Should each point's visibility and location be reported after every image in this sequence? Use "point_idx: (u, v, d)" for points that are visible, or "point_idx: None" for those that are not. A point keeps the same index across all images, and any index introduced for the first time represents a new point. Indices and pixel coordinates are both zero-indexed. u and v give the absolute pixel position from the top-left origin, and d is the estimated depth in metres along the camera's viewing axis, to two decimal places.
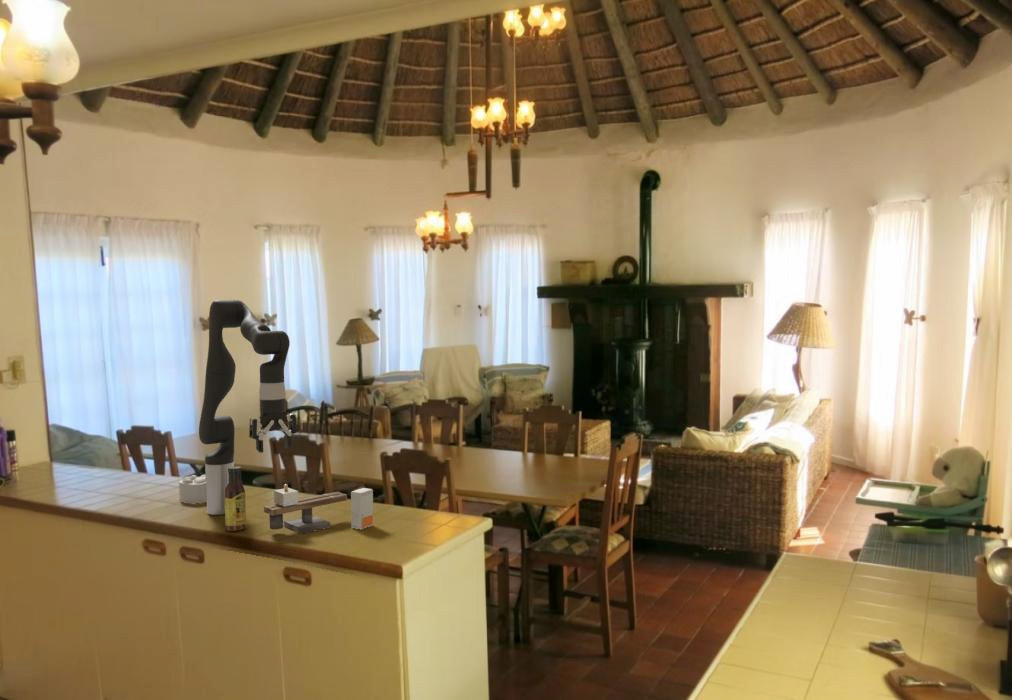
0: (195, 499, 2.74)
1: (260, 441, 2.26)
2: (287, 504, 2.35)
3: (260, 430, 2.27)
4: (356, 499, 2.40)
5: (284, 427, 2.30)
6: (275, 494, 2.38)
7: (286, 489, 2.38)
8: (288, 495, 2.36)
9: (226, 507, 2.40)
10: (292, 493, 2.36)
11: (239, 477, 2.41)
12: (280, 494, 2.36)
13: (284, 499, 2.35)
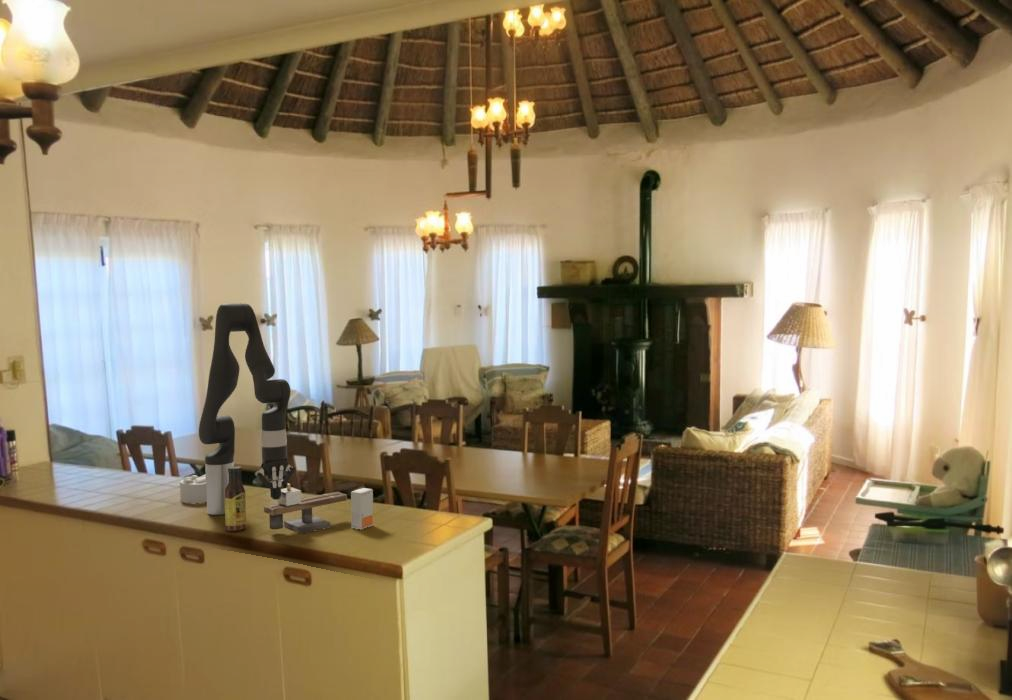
0: (196, 499, 2.74)
1: (274, 489, 2.35)
2: (290, 503, 2.36)
3: (269, 479, 2.35)
4: (356, 499, 2.40)
5: (280, 475, 2.35)
6: None
7: (289, 488, 2.39)
8: (291, 495, 2.36)
9: (226, 507, 2.40)
10: (295, 492, 2.37)
11: (239, 477, 2.41)
12: (283, 493, 2.36)
13: (287, 498, 2.35)
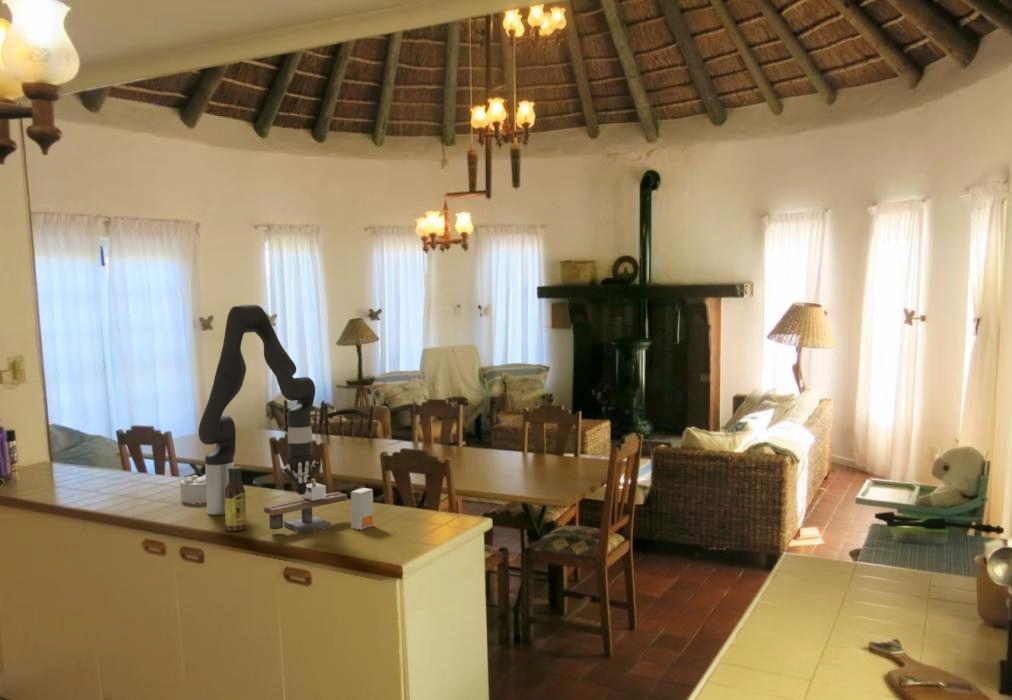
0: (196, 499, 2.74)
1: (300, 484, 2.41)
2: (315, 498, 2.42)
3: (295, 474, 2.41)
4: (356, 499, 2.40)
5: (306, 471, 2.41)
6: None
7: (314, 484, 2.44)
8: (316, 490, 2.42)
9: (226, 507, 2.40)
10: (320, 488, 2.43)
11: (239, 477, 2.41)
12: (308, 489, 2.42)
13: (312, 493, 2.41)
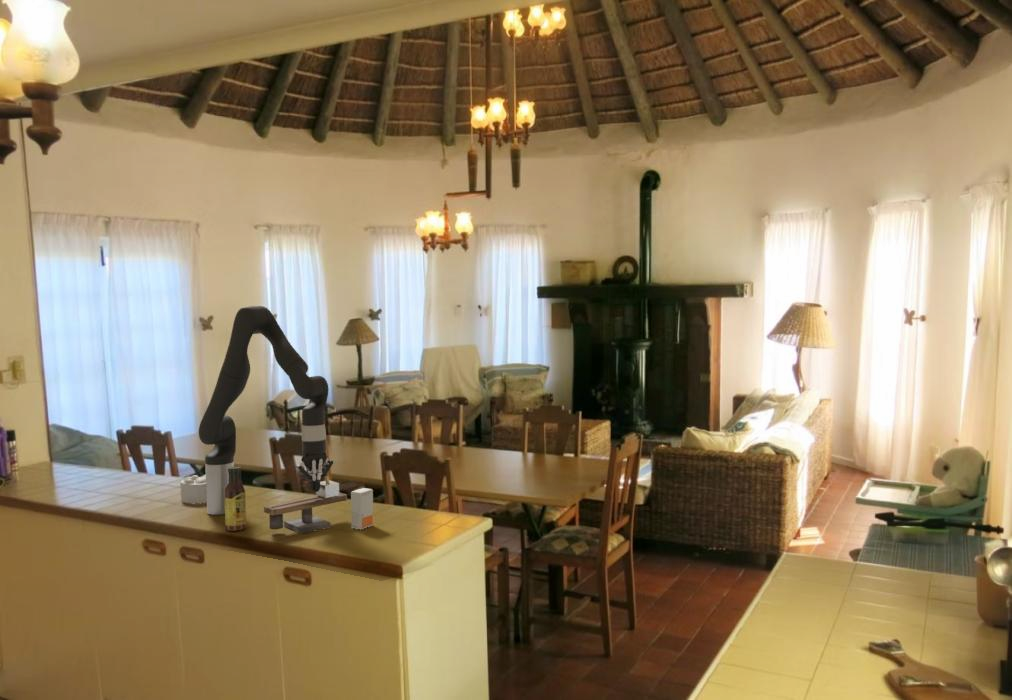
0: (196, 499, 2.74)
1: (314, 481, 2.44)
2: (329, 496, 2.45)
3: (309, 472, 2.44)
4: (356, 499, 2.40)
5: (319, 468, 2.44)
6: None
7: (327, 481, 2.48)
8: (330, 487, 2.45)
9: (226, 507, 2.40)
10: (333, 485, 2.46)
11: (239, 477, 2.41)
12: (322, 486, 2.46)
13: (326, 491, 2.45)
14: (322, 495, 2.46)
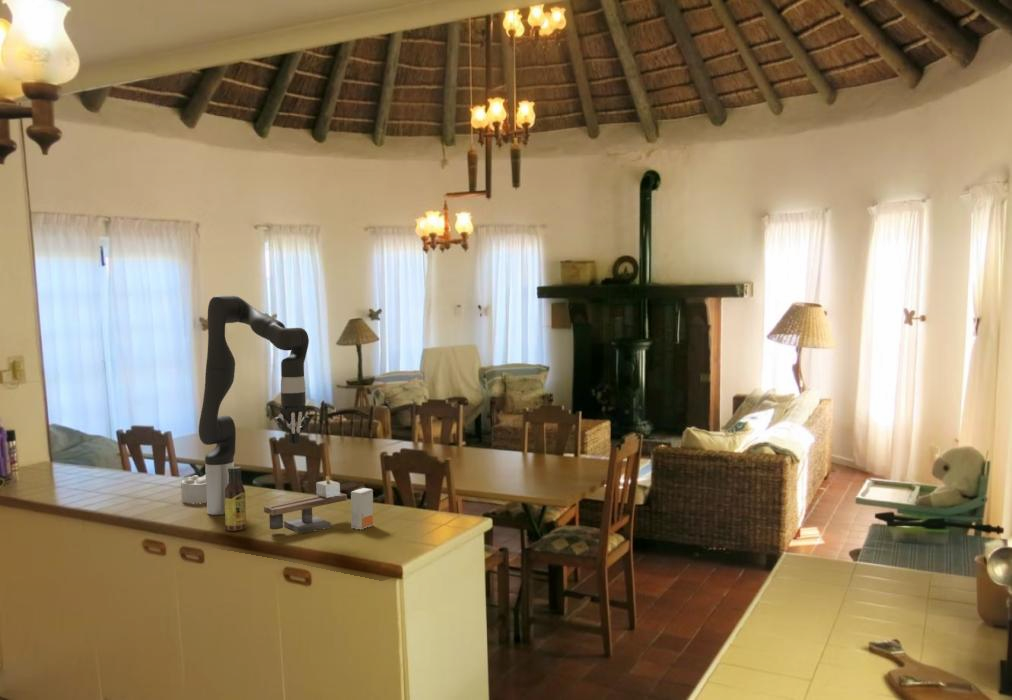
0: (197, 499, 2.74)
1: (293, 434, 2.41)
2: (329, 495, 2.45)
3: (288, 425, 2.41)
4: (356, 499, 2.40)
5: (299, 421, 2.41)
6: (317, 486, 2.48)
7: (328, 481, 2.48)
8: (331, 487, 2.46)
9: (226, 507, 2.40)
10: (334, 485, 2.46)
11: (239, 477, 2.41)
12: (323, 486, 2.46)
13: (327, 491, 2.45)
14: (323, 495, 2.46)
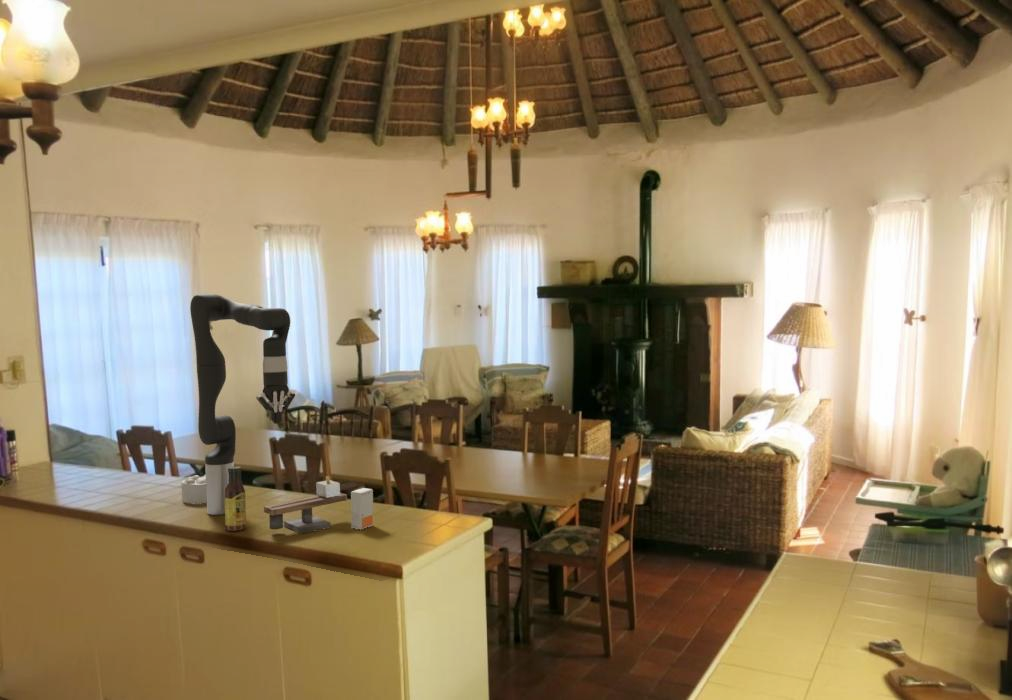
0: (197, 499, 2.74)
1: (275, 413, 2.45)
2: (329, 495, 2.45)
3: (271, 403, 2.45)
4: (356, 499, 2.40)
5: (281, 400, 2.45)
6: (317, 486, 2.48)
7: (328, 481, 2.48)
8: (331, 487, 2.46)
9: (226, 507, 2.40)
10: (334, 485, 2.46)
11: (239, 477, 2.41)
12: (323, 486, 2.46)
13: (327, 491, 2.45)
14: (323, 495, 2.46)
